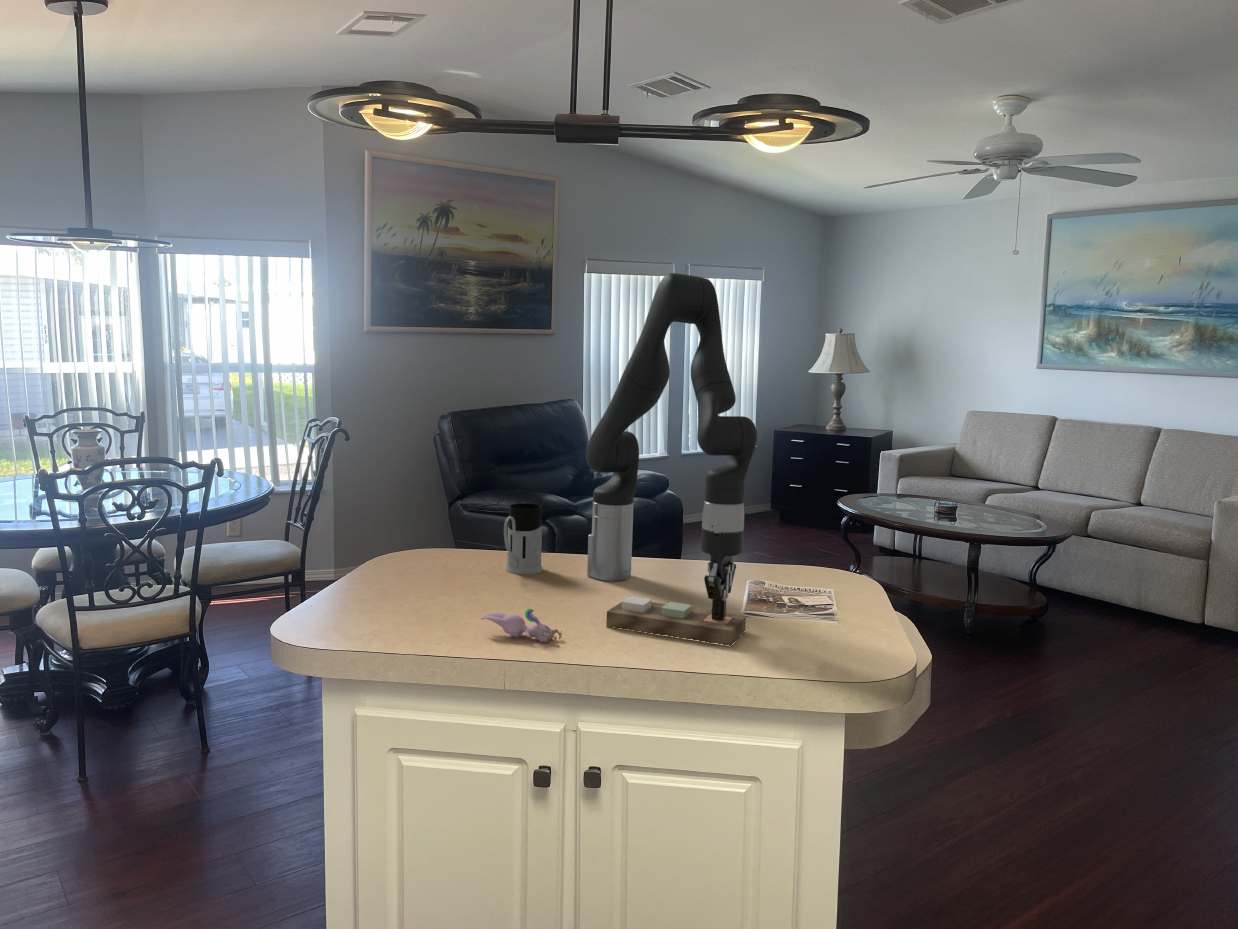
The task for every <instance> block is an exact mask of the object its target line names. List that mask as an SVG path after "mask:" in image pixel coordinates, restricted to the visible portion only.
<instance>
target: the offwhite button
mask: <svg viewBox="0 0 1238 929" xmlns="http://www.w3.org/2000/svg"><path fill="white" fill-rule="evenodd" d="M652 600H653V599H651V598H645V597H637V596H634V595H633V596H632V595H631V596H628V597H627V598H625V599H624V600H622V601H621V602H622V610H628V611H635V612H641V613H645V612H646V611H648V610H649V609H650V608H651V606H652V602H653V601H652Z"/></svg>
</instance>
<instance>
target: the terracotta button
mask: <svg viewBox="0 0 1238 929" xmlns="http://www.w3.org/2000/svg"><path fill="white" fill-rule="evenodd" d="M732 621H733V618H732V617H725V619H723V620H722V621H719V620H713V619H712V615H711V614H710V615H708V616H707V617H706V618H705V619H704V620H703V622H707V623H713V624H720V625H728V624H730V623H731V622H732Z"/></svg>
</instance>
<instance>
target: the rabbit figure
mask: <svg viewBox="0 0 1238 929" xmlns="http://www.w3.org/2000/svg"><path fill="white" fill-rule="evenodd" d="M534 611H535V609H532V608H528V609H526V611H525V614H524V616H525V618H526V620H528V621H529V622H534V623H536V625H533V626H527V625H526V621H525V619H524V618H523V617H522V616H520V615H518V614H516V613H515V614H514V613H511V614H508V615H507V614H506V613H504V612H499V611H497V612H491V613H487V614H486V615H485V614H484V615H483V617H480V620H488V621H491V622H493V623H494V624H496V625H498V626H499V627H501V628H502V630H503V631H504V632H505V633H506V634H508V635H510V636H512V637H514V638H516V639H517V638H519V637H522V636H523V634H524V635H525V636H526V637H528V638H535V639H536V640H538V642H540V643H541V644H546V643H548V642H550V641H551V640H552V639H553V645H556V643H557V636H558V635H559V636H558V640H559V641H561V639H562V632H563V630H561V631H559V630H558V629H557V628H555V629H552V628H551V627H549V626H548V625H546V624H544V623H541V621H540V620H539V618H538V617H537V616H536V615H534V614H533V612H534ZM555 634H556V635H555ZM557 634H558V635H557Z"/></svg>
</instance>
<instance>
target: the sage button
mask: <svg viewBox="0 0 1238 929" xmlns="http://www.w3.org/2000/svg"><path fill="white" fill-rule="evenodd" d="M665 604H666V605H665V606H663V607H662V613H661V616H667V617H674V618H681V619H686V618H687V617H688V616H689V615H691V610H692V608H693V607H692V604H686V603H679V602H673V601H669V602H668V603H665Z"/></svg>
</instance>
